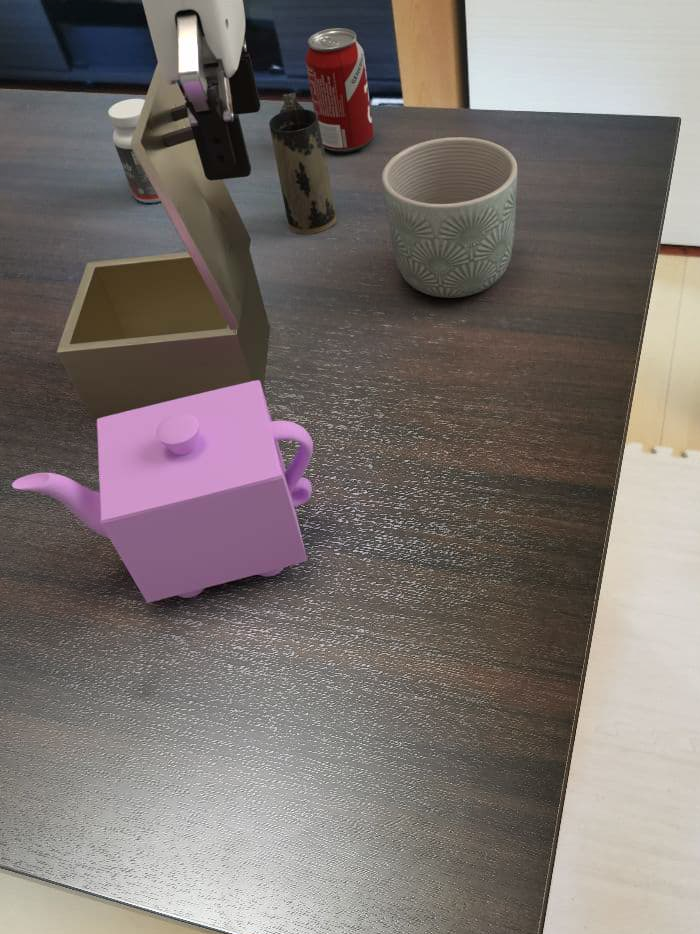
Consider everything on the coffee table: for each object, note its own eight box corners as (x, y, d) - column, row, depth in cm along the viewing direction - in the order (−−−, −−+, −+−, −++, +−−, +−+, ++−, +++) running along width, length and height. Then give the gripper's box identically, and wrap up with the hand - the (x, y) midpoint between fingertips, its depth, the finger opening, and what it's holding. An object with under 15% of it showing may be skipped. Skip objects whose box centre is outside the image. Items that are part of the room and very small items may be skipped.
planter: (407, 322, 81) (396, 217, 72) (383, 252, 88) (370, 150, 80) (531, 296, 81) (535, 190, 73) (496, 229, 89) (496, 126, 81)
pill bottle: (129, 188, 102) (99, 104, 94) (174, 175, 103) (148, 91, 95) (139, 209, 99) (108, 124, 91) (185, 195, 100) (159, 110, 92)
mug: (339, 230, 92) (321, 119, 83) (289, 238, 92) (265, 128, 82) (332, 193, 97) (314, 85, 88) (285, 201, 97) (262, 93, 87)
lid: (129, 144, 55) (204, 120, 54) (157, 62, 63) (223, 40, 62) (230, 330, 67) (293, 313, 66) (243, 241, 75) (299, 225, 74)
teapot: (318, 471, 69) (288, 350, 60) (344, 565, 63) (315, 446, 53) (76, 532, 67) (4, 418, 58) (78, 635, 61) (-3, 526, 51)
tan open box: (97, 431, 75) (56, 352, 68) (121, 341, 83) (87, 262, 76) (261, 415, 74) (236, 334, 67) (269, 326, 82) (248, 245, 75)
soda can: (342, 162, 101) (326, 56, 92) (309, 145, 105) (290, 40, 95) (385, 140, 104) (373, 35, 94) (351, 124, 107) (336, 21, 98)
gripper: (123, -178, 54) (198, 96, 67) (67, -97, 43) (169, 211, 57) (238, -193, 54) (290, 85, 67) (210, -115, 43) (279, 199, 56)
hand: (235, 142), depth 62 cm, fingers open, 9 cm apart
